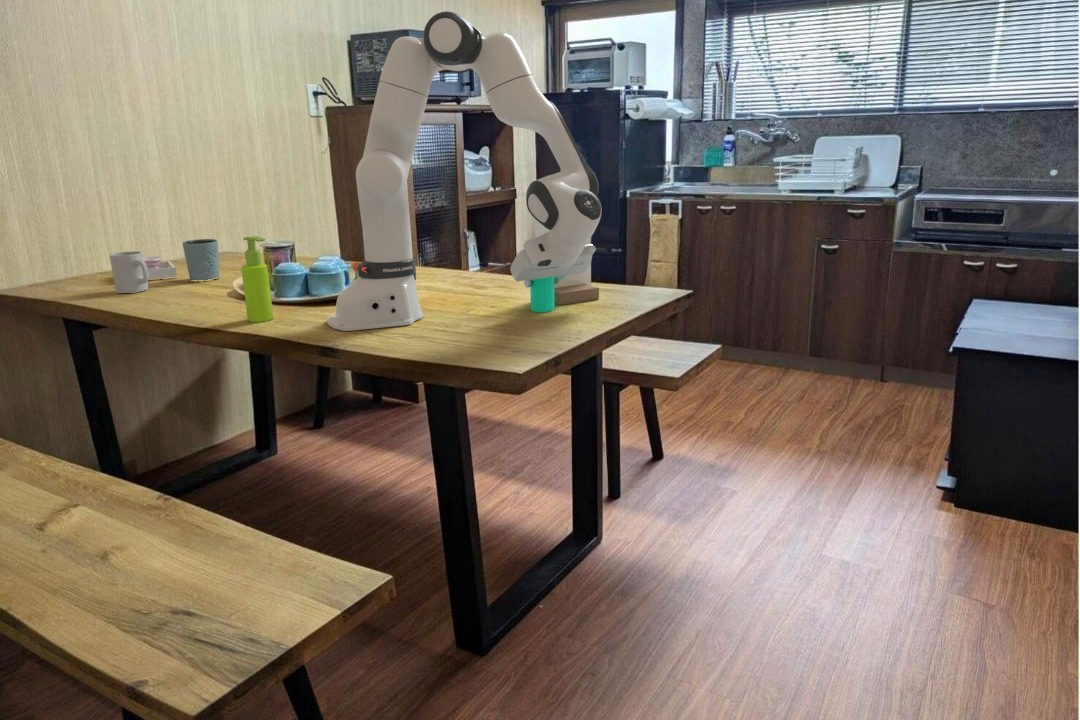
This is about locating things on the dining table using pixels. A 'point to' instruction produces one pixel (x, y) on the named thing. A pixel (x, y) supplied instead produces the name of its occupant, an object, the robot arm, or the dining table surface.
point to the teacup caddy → (163, 271)
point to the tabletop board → (572, 281)
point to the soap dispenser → (256, 284)
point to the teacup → (152, 262)
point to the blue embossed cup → (202, 258)
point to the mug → (129, 272)
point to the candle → (542, 295)
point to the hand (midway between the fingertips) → (540, 283)
